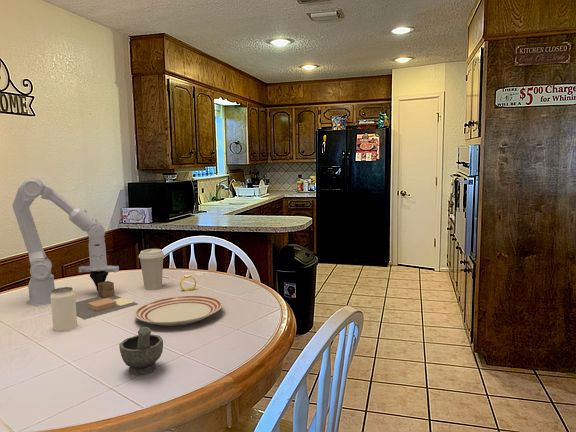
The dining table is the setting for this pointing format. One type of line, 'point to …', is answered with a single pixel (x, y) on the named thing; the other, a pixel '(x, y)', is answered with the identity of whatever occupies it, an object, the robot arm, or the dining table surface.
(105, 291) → the block
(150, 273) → the coffee cup
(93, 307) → the tile
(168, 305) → the dinner plate
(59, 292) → the can
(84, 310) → the mat
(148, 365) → the mortar and pestle
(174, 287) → the dining table surface
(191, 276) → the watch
